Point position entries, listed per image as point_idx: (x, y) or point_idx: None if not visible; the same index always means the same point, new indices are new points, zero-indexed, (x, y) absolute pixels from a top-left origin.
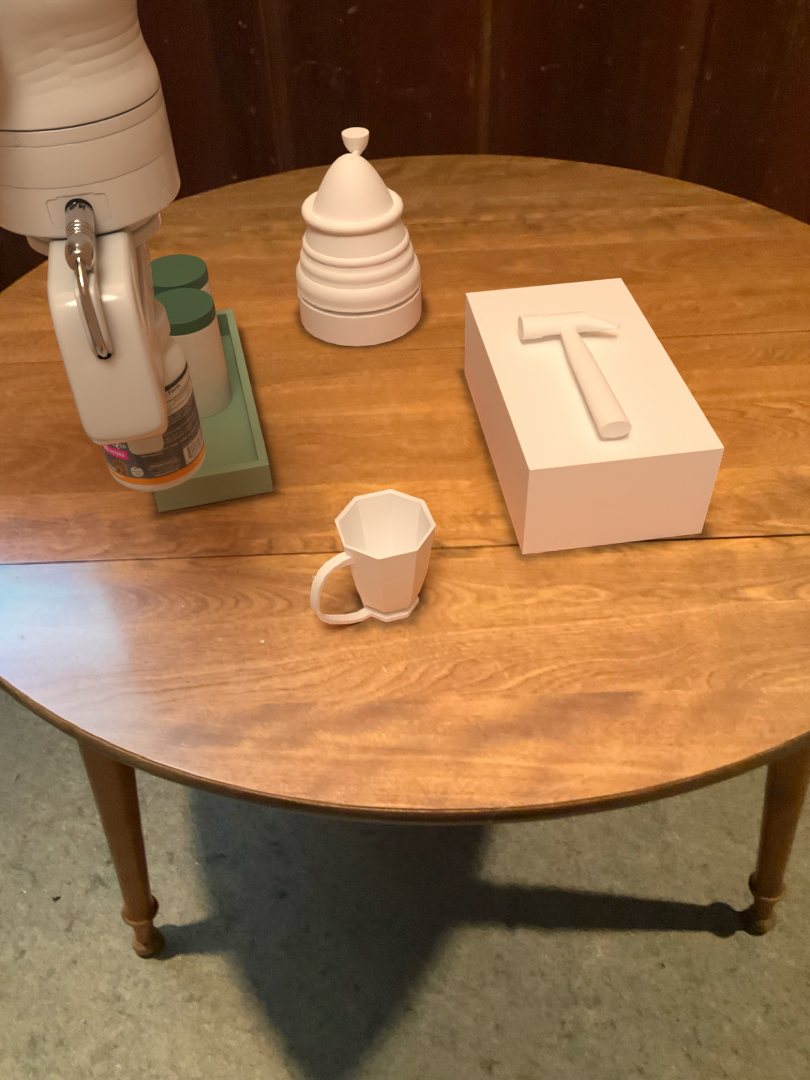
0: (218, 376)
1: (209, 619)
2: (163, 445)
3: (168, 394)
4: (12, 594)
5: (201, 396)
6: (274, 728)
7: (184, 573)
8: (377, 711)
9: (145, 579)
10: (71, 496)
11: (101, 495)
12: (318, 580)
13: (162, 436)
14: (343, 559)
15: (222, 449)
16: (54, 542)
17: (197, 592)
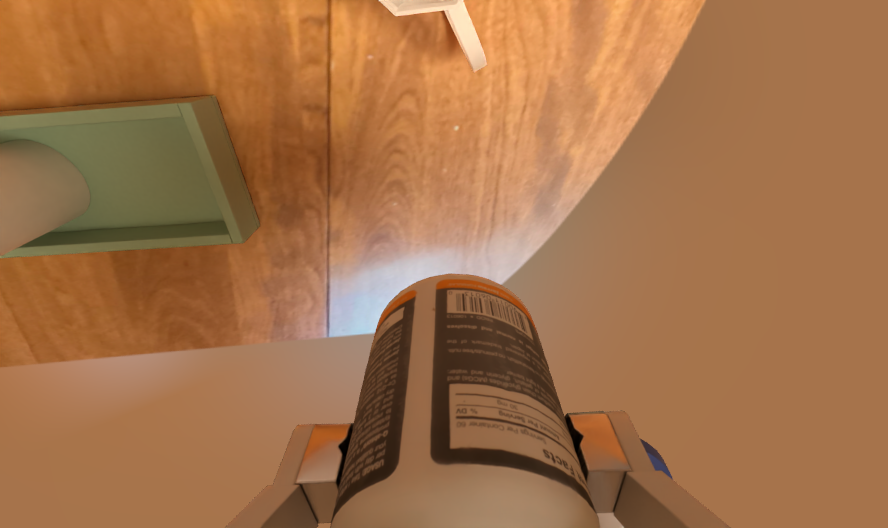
0: (6, 165)
1: (417, 179)
2: (625, 413)
3: (572, 468)
4: (362, 331)
5: (54, 186)
6: (566, 124)
7: (351, 202)
8: (586, 3)
9: (355, 236)
10: (239, 300)
11: (236, 277)
12: (478, 58)
13: (613, 423)
14: (465, 13)
15: (144, 157)
16: (302, 309)
17: (378, 190)
